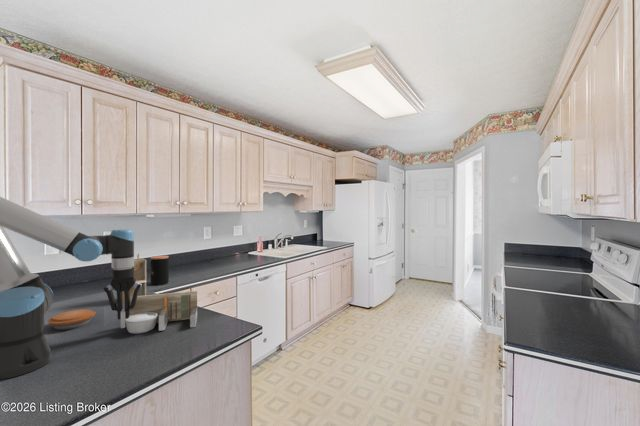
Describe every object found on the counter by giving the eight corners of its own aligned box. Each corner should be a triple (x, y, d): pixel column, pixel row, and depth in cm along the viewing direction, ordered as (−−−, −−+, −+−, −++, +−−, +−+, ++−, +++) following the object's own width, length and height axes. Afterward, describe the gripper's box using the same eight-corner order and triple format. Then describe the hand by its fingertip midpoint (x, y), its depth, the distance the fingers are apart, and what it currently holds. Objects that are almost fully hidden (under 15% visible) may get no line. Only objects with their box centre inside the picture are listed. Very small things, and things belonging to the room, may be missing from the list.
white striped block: (195, 327, 121) (195, 315, 121) (190, 327, 120) (190, 315, 120) (197, 318, 131) (196, 307, 131) (192, 319, 130) (192, 308, 130)
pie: (76, 332, 117) (76, 319, 117) (36, 332, 116) (36, 320, 116) (104, 318, 132) (104, 307, 132) (69, 318, 132) (69, 307, 132)
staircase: (119, 301, 157) (118, 254, 157) (143, 297, 166) (142, 252, 165) (123, 304, 152) (123, 255, 152) (148, 299, 160) (147, 253, 160)
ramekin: (163, 326, 122) (163, 313, 122) (139, 336, 112) (139, 323, 112) (144, 322, 126) (144, 310, 126) (118, 332, 116) (118, 319, 116)
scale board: (197, 318, 131) (197, 291, 131) (130, 325, 122) (129, 297, 122) (197, 317, 132) (197, 290, 132) (130, 324, 124) (130, 296, 124)
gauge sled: (164, 330, 117) (164, 302, 117) (158, 330, 117) (158, 303, 117) (168, 321, 127) (168, 295, 127) (163, 321, 126) (163, 296, 126)
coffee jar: (152, 282, 198) (152, 255, 198) (170, 281, 201) (170, 255, 201) (148, 286, 188) (148, 258, 188) (167, 285, 191) (166, 257, 191)
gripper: (143, 265, 123) (144, 321, 123) (107, 267, 118) (107, 325, 118) (139, 268, 115) (140, 327, 116) (100, 271, 111) (101, 332, 111)
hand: (123, 326), depth 117 cm, fingers closed
